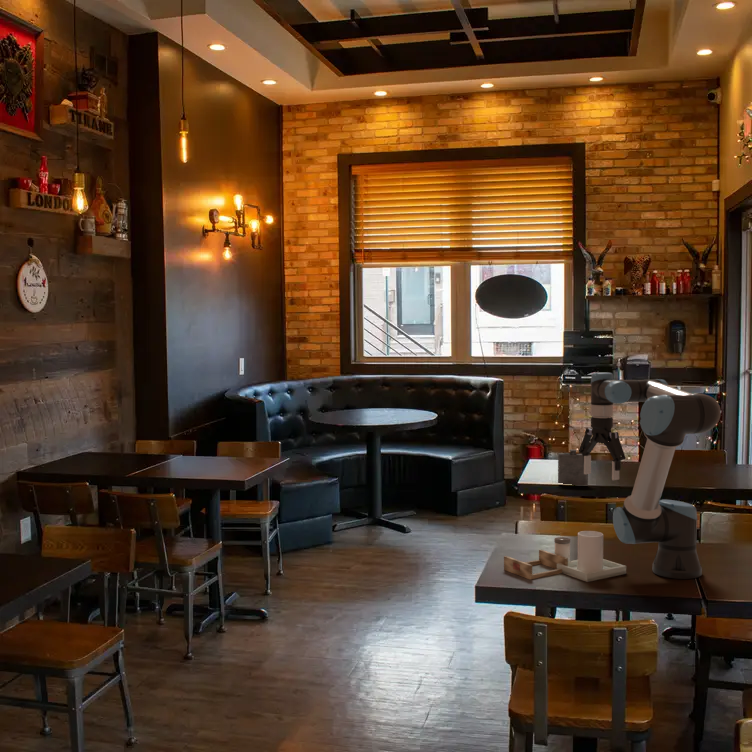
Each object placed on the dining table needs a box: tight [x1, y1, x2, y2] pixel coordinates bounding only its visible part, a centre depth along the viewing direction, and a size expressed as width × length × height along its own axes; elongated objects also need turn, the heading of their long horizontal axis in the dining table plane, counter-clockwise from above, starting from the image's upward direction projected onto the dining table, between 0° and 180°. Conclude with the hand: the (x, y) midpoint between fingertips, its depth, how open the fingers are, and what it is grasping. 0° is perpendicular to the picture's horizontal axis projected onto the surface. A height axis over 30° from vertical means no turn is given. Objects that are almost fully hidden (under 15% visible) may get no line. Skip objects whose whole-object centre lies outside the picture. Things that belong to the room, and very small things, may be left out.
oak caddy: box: [503, 549, 568, 580], centre depth 294 cm, size 13×16×4 cm
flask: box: [557, 449, 589, 486], centre depth 439 cm, size 4×14×18 cm, turn 78°
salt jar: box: [553, 536, 571, 561], centre depth 300 cm, size 5×5×9 cm
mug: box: [577, 530, 604, 573], centre depth 292 cm, size 12×8×12 cm
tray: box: [557, 558, 627, 583], centre depth 292 cm, size 14×17×2 cm
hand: (601, 476), depth 316 cm, fingers open, 13 cm apart
